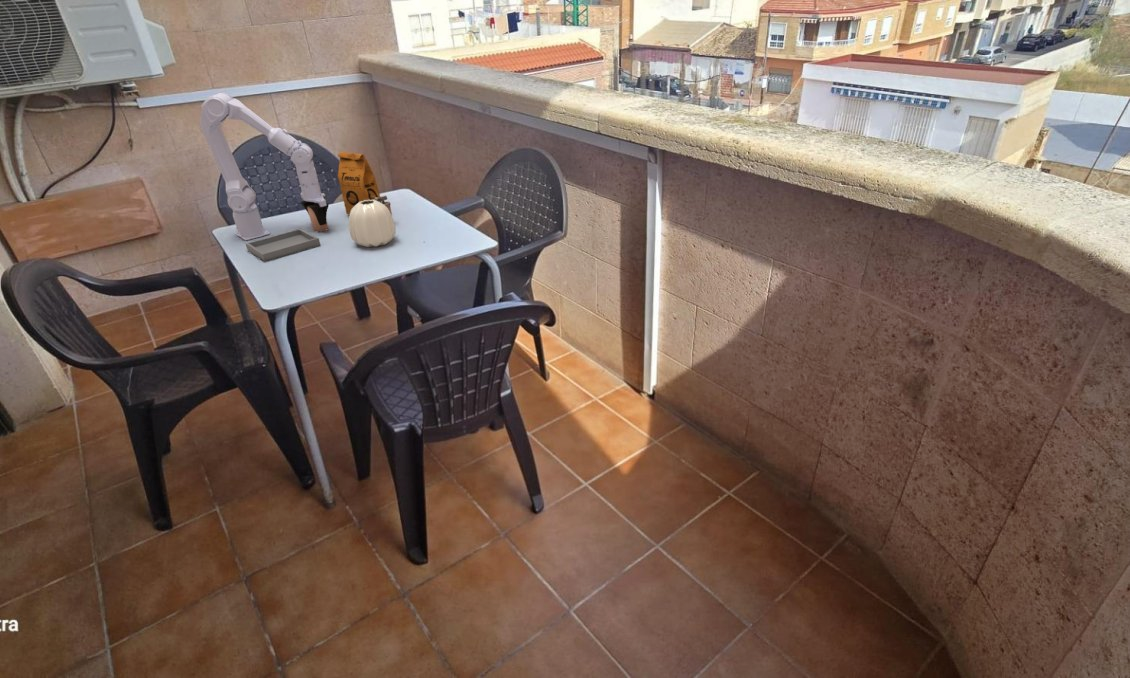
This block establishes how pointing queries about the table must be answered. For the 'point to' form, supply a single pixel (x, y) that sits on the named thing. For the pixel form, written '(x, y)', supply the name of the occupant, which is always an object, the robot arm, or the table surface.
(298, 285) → the table surface
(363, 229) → the vase
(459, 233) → the table surface
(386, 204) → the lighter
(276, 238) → the tray
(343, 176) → the coffee package
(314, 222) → the cup
